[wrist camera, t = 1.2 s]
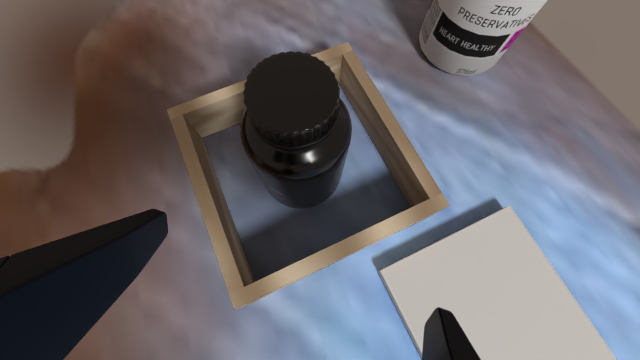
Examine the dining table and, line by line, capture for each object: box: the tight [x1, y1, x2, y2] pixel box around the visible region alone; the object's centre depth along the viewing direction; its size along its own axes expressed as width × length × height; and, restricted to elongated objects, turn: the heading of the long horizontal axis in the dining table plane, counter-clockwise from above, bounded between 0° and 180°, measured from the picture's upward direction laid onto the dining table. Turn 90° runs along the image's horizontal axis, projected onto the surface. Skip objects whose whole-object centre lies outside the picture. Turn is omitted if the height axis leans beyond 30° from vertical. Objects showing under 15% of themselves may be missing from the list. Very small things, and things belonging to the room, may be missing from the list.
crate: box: [167, 42, 449, 310], centre depth 23 cm, size 16×16×4 cm
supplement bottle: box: [241, 51, 352, 209], centre depth 20 cm, size 7×7×12 cm
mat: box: [378, 206, 617, 360], centre depth 21 cm, size 12×12×1 cm
